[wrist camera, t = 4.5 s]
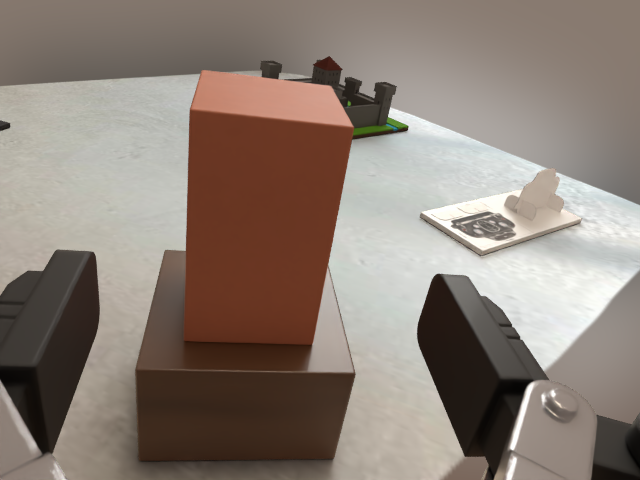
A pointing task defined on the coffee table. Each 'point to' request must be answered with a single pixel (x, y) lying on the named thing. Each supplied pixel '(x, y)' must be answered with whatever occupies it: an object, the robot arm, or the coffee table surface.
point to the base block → (238, 386)
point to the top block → (261, 207)
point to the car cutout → (505, 216)
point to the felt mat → (4, 125)
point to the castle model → (350, 98)
